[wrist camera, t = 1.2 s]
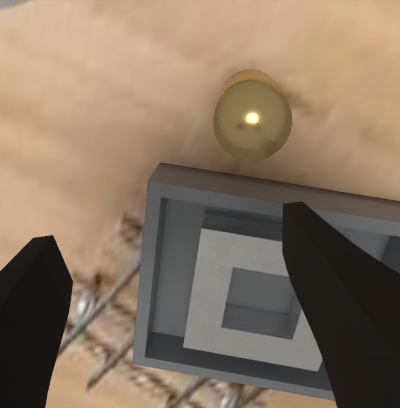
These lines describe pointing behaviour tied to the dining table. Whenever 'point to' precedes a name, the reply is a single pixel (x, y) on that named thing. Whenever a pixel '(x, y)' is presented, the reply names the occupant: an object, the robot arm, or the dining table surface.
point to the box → (241, 278)
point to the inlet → (239, 315)
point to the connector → (252, 116)
